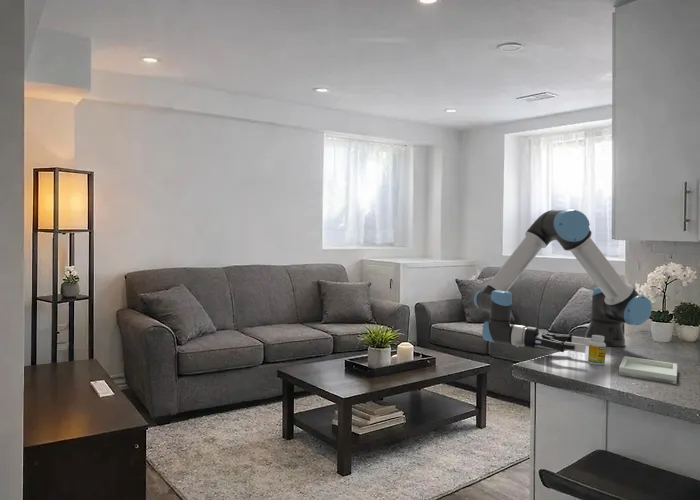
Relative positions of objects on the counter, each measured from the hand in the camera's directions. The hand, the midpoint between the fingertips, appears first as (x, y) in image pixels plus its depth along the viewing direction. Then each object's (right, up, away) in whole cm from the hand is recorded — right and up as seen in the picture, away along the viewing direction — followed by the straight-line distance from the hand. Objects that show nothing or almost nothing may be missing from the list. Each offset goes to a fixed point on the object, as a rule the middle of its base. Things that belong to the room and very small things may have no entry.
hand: (588, 345), depth 197 cm
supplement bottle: (+2, -6, -1) cm, 7 cm away
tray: (+15, -7, -10) cm, 20 cm away
